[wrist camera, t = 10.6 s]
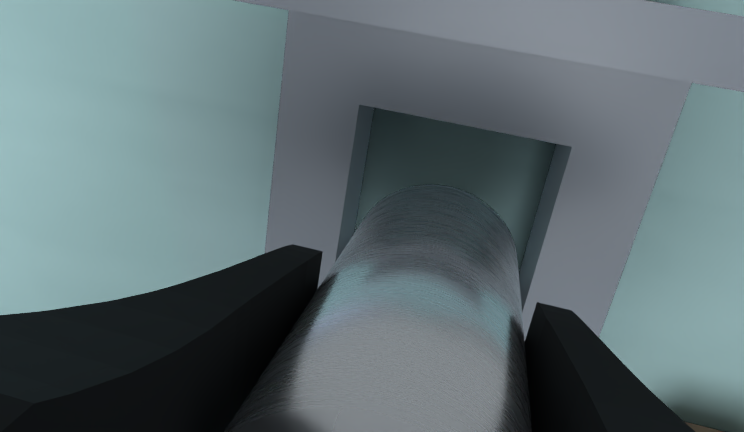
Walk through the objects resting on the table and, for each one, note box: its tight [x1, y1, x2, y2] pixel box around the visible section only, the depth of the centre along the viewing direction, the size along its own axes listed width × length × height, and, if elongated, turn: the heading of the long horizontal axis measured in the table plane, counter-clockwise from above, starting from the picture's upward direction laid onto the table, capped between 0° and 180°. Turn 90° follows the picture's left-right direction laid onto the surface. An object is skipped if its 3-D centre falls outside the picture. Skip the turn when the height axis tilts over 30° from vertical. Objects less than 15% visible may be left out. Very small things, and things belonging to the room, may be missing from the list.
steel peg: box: [224, 184, 532, 432], centre depth 10 cm, size 4×4×8 cm
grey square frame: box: [235, 0, 744, 342], centre depth 15 cm, size 11×10×6 cm
